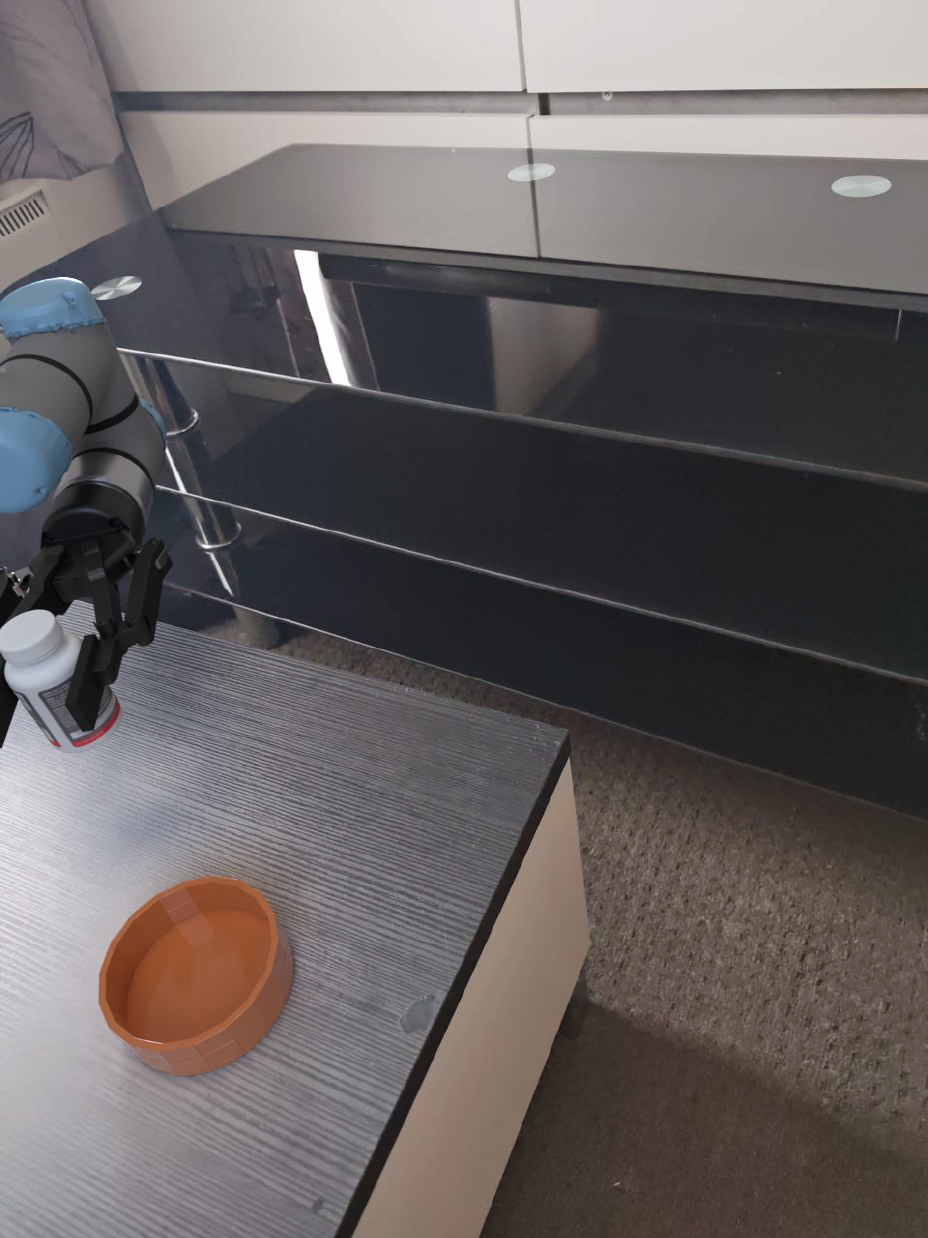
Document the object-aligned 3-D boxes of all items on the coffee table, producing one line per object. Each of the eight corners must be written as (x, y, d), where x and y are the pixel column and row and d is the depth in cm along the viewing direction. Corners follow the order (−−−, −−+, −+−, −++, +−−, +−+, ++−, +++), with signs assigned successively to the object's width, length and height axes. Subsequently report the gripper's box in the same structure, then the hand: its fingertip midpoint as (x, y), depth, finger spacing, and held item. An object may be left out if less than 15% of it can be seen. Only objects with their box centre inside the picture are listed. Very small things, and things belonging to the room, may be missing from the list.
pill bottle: (133, 695, 68) (76, 597, 62) (113, 752, 64) (49, 653, 58) (65, 703, 69) (1, 606, 62) (40, 759, 65) (-31, 663, 58)
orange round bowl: (86, 1039, 62) (59, 1012, 59) (192, 886, 69) (173, 856, 67) (229, 1106, 57) (207, 1081, 54) (326, 934, 65) (311, 904, 62)
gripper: (222, 533, 78) (194, 737, 61) (12, 574, 79) (-76, 789, 61) (191, 458, 73) (151, 658, 56) (-33, 503, 74) (-143, 715, 56)
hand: (32, 726), depth 59 cm, fingers closed on pill bottle, 5 cm apart
